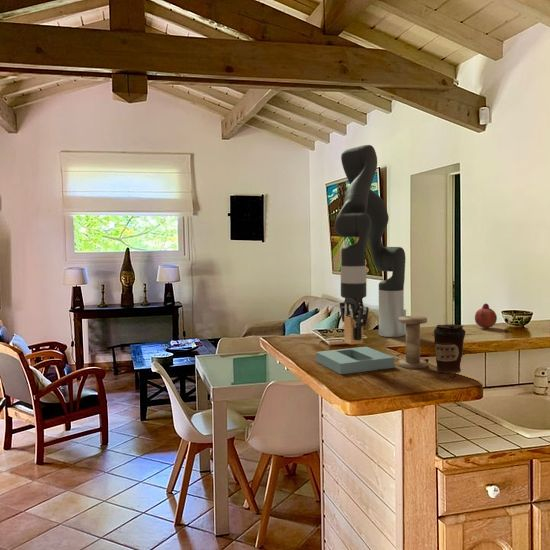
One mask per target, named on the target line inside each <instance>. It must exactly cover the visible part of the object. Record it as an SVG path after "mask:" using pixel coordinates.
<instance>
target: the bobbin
mask: <svg viewBox="0 0 550 550" xmlns="http://www.w3.org/2000/svg"><path fill="white" fill-rule="evenodd" d="M399 322H401V323H406V335H405V358H401V359H400V360H398V366H399V367H401V368H405V369H411V370H412V369H413V370H418V369H419V370H420V369H424V368H427V367H428V361H426V360H424V359H421V324H423V325H424V324H427V323H428V318H427V317H426V316H421V315H420V316H418V315H406V316H402V317H399Z"/></svg>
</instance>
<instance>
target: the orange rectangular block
mask: <svg viewBox="0 0 550 550" xmlns="http://www.w3.org/2000/svg"><path fill="white" fill-rule="evenodd" d="M355 317H358V316H355ZM356 322H357V320H356ZM362 322H363V319H362ZM343 324H344V325H343V326H344V328H343V330H344V331H343V332H344V337H343V338H344V339H343V341H344V343H346V344H348V345H361V344H363V343H364V326H363V327H362V329H361V330H362V339H361V340H354V324H353V320H352V317H351V315H348V316H346V315H344V322H343Z"/></svg>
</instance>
